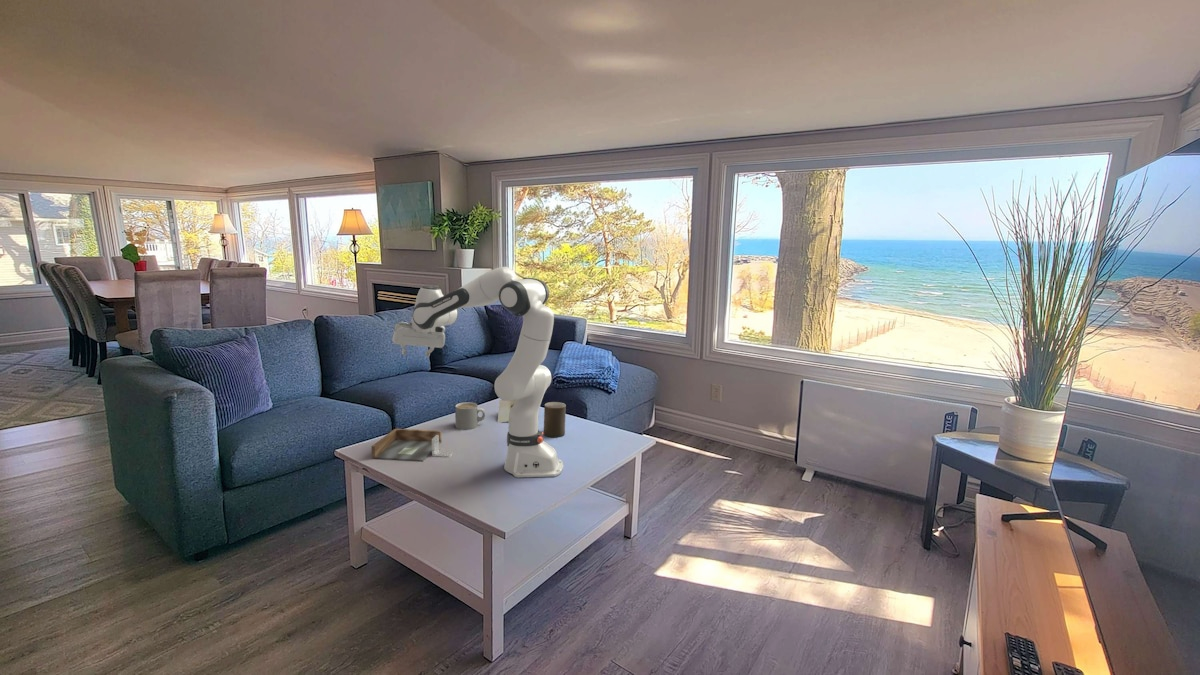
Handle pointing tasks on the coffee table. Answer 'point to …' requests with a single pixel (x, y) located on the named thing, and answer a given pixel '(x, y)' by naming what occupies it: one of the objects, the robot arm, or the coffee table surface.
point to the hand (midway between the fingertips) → (415, 354)
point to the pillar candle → (554, 419)
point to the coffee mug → (467, 415)
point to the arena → (405, 445)
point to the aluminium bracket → (437, 451)
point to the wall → (504, 410)
